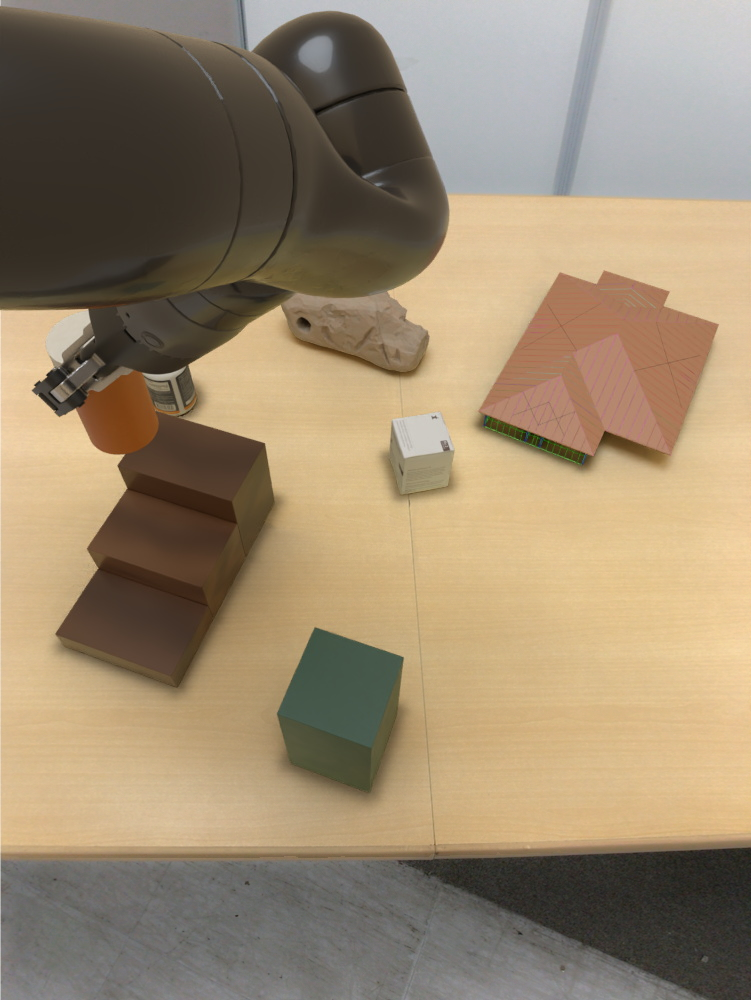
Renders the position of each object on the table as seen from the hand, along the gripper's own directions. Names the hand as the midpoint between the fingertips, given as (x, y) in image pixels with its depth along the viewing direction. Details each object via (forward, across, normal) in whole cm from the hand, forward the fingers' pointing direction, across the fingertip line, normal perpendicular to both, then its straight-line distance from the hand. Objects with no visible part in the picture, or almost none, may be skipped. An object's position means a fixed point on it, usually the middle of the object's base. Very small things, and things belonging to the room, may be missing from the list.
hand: (84, 366), depth 56 cm
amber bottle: (+3, 0, +6) cm, 7 cm away
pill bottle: (+33, -20, +12) cm, 40 cm away
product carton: (+10, -26, +34) cm, 44 cm away
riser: (+21, 0, +22) cm, 31 cm away
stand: (+3, +6, +40) cm, 41 cm away
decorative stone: (+22, -41, +22) cm, 51 cm away
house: (0, -52, +44) cm, 68 cm away
